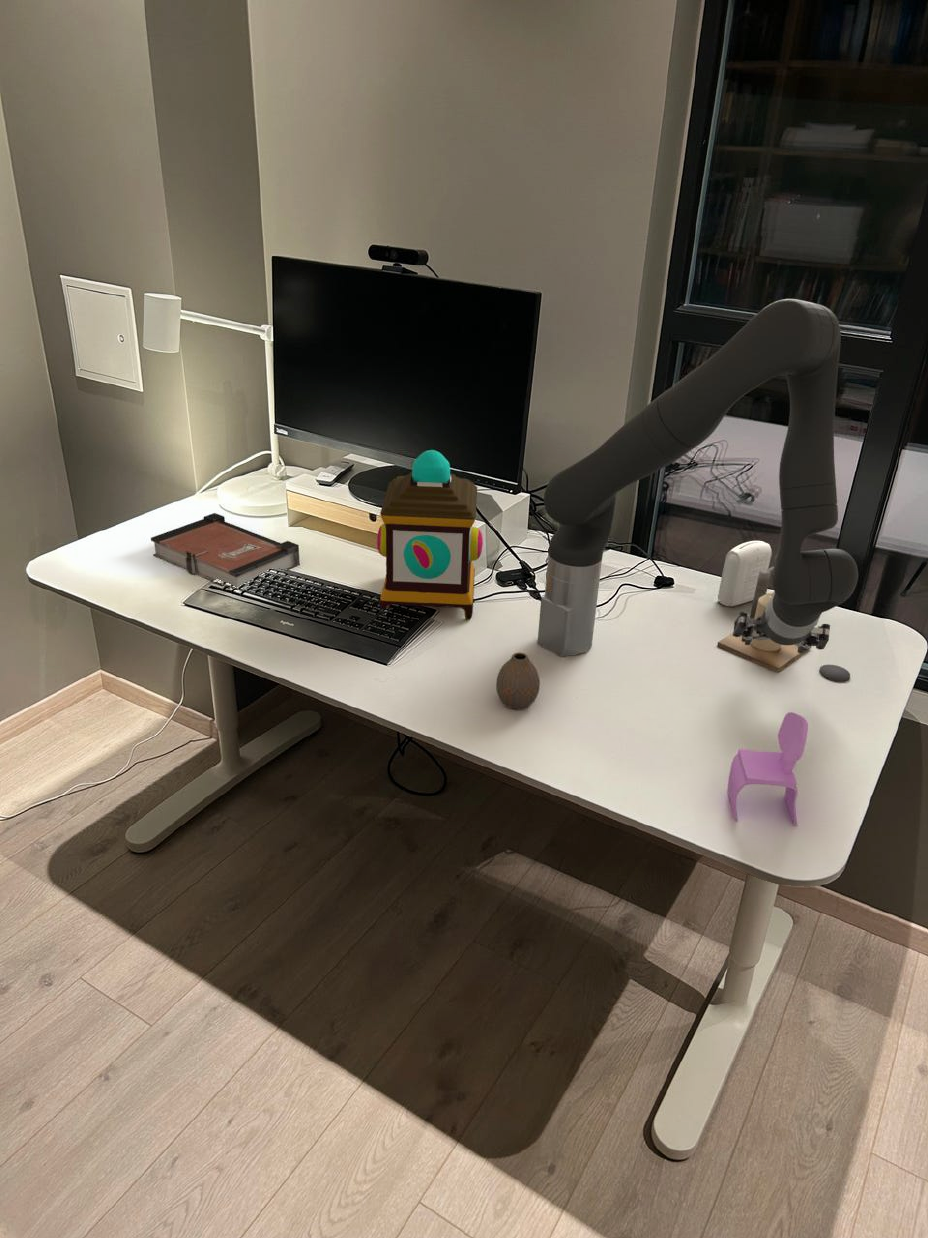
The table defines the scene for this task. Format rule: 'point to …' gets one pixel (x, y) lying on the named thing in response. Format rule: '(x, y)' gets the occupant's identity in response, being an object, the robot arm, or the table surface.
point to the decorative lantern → (429, 537)
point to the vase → (518, 682)
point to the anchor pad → (834, 673)
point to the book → (223, 551)
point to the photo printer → (743, 572)
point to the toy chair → (771, 764)
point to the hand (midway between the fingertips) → (773, 643)
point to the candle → (763, 644)
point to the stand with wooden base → (764, 658)
